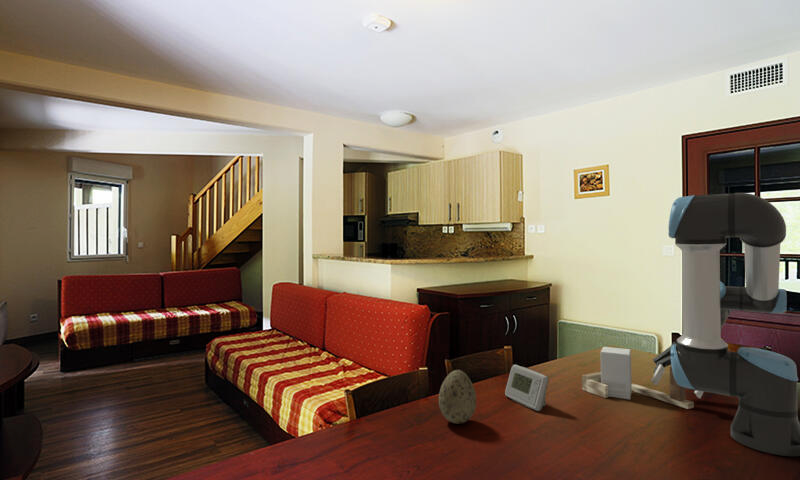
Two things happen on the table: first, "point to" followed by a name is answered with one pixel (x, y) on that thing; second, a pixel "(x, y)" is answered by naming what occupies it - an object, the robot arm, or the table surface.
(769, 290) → the robot arm
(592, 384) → the hooked slat
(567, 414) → the table surface
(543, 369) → the table surface
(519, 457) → the table surface
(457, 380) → the decorative egg
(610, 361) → the supplement box
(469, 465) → the table surface
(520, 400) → the digital clock
